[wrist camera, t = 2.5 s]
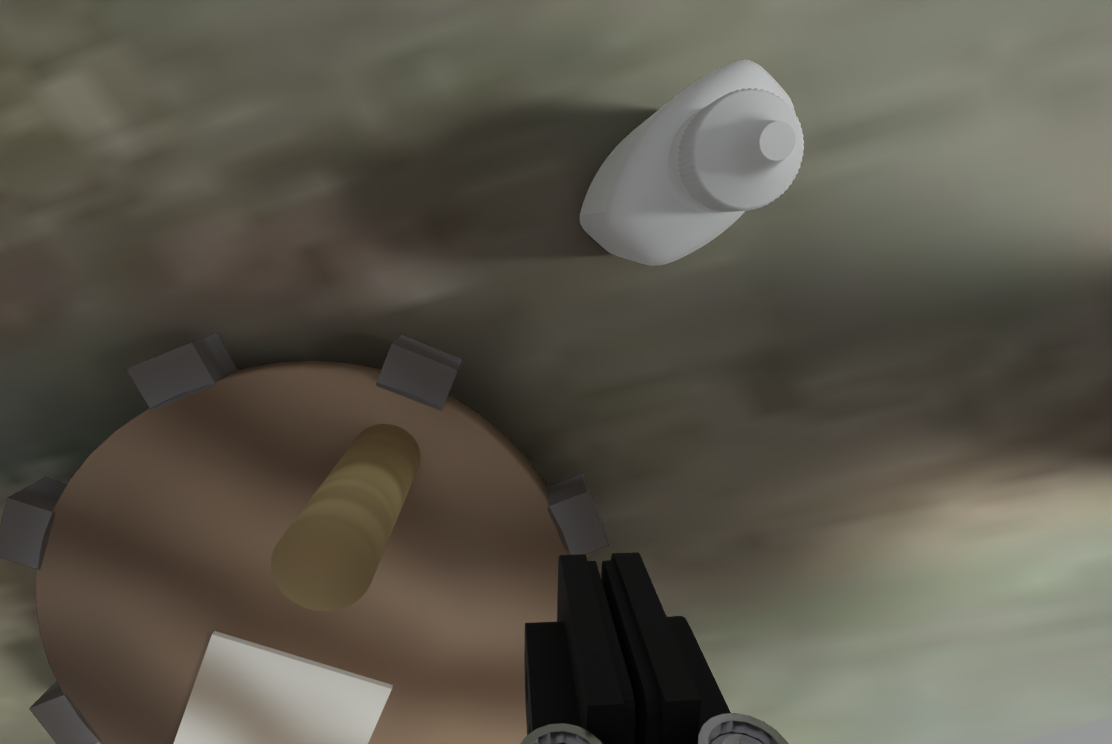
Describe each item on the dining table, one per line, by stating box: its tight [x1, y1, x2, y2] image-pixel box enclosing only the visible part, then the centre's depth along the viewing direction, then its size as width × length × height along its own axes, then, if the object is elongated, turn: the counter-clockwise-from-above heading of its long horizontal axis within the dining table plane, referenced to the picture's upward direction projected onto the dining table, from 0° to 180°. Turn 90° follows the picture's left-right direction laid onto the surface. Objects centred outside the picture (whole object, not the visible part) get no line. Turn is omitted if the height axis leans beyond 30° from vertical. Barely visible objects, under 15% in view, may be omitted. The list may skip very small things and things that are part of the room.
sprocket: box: [0, 333, 609, 744], centre depth 20 cm, size 23×23×9 cm
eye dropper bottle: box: [580, 60, 804, 266], centre depth 17 cm, size 4×6×12 cm
